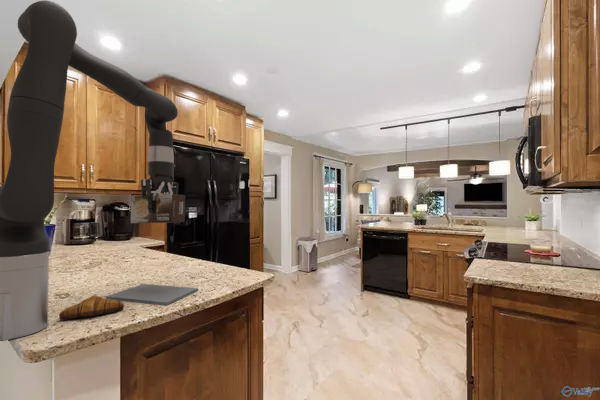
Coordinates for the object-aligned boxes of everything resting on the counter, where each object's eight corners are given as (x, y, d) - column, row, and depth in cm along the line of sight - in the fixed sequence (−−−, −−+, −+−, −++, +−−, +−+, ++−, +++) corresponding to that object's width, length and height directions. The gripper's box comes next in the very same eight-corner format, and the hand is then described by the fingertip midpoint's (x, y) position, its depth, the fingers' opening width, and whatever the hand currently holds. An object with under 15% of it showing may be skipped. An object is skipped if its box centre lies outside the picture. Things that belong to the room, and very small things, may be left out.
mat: (166, 305, 79) (166, 302, 79) (105, 299, 85) (105, 296, 85) (198, 290, 92) (198, 288, 92) (143, 286, 98) (143, 283, 98)
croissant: (124, 306, 79) (124, 288, 79) (123, 314, 73) (123, 294, 73) (62, 316, 72) (62, 296, 72) (55, 325, 66) (55, 304, 66)
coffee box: (145, 222, 97) (185, 223, 93) (129, 223, 91) (171, 223, 87) (146, 195, 98) (185, 195, 93) (130, 194, 91) (172, 193, 87)
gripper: (153, 157, 84) (153, 213, 84) (185, 164, 98) (185, 212, 98) (133, 158, 86) (132, 213, 86) (167, 165, 100) (167, 212, 100)
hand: (160, 212), depth 92 cm, fingers closed on coffee box, 6 cm apart
